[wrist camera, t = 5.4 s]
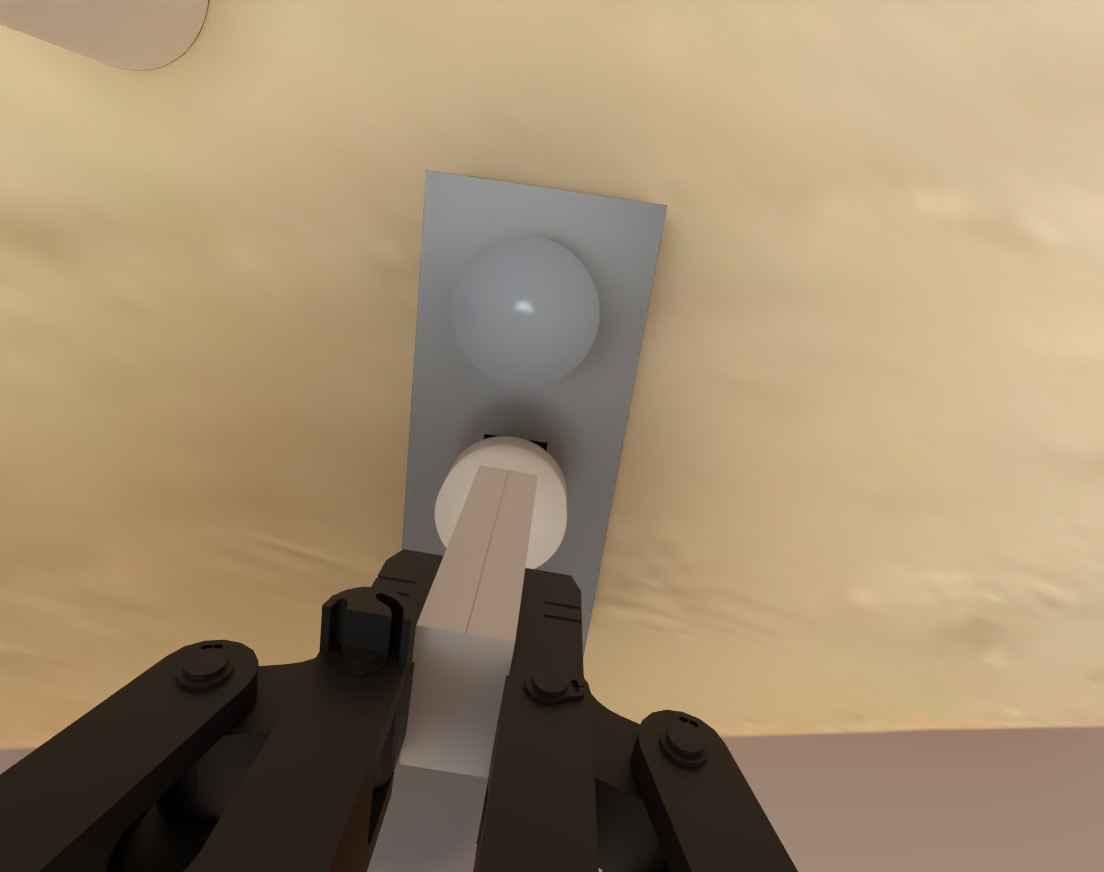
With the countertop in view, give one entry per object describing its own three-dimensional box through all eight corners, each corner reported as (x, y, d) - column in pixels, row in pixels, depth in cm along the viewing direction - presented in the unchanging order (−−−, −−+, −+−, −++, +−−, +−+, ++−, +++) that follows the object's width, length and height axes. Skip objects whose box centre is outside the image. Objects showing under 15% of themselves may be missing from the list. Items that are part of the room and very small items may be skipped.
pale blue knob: (475, 341, 29) (445, 375, 22) (485, 227, 27) (457, 225, 20) (582, 356, 29) (587, 395, 22) (599, 243, 27) (611, 247, 20)
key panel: (420, 603, 38) (394, 667, 33) (452, 182, 30) (426, 170, 25) (575, 623, 39) (577, 690, 33) (648, 210, 31) (666, 205, 25)
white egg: (460, 492, 31) (430, 567, 24) (469, 397, 30) (439, 447, 23) (559, 506, 32) (557, 583, 25) (573, 411, 30) (575, 465, 23)
